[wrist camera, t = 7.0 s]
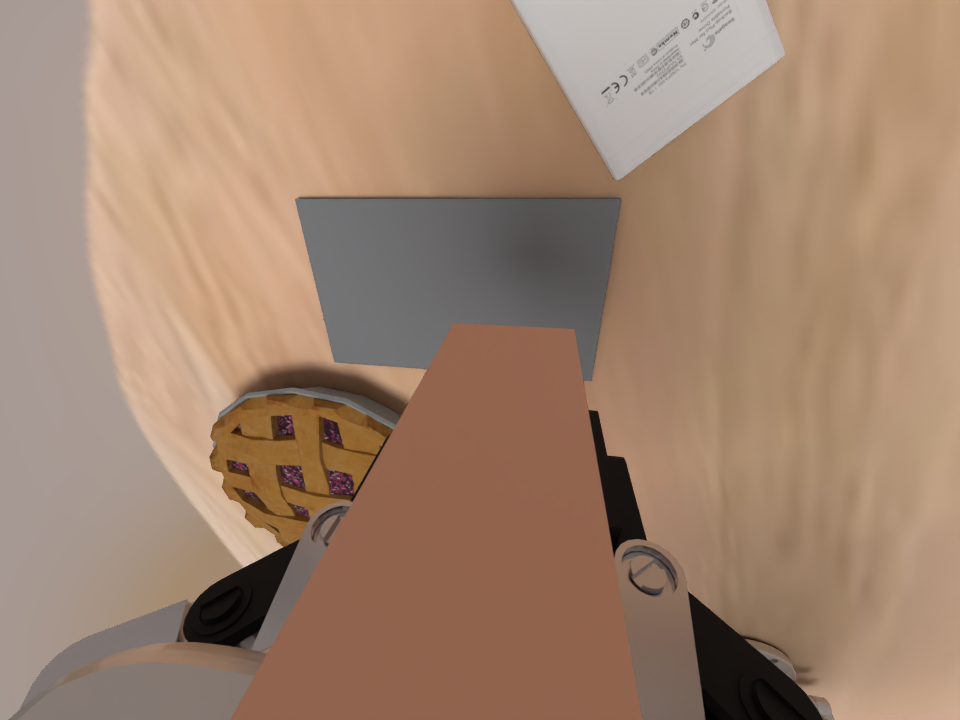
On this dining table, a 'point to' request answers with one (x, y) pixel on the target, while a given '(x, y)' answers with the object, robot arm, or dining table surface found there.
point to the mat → (456, 270)
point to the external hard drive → (649, 64)
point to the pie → (296, 452)
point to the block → (467, 558)
